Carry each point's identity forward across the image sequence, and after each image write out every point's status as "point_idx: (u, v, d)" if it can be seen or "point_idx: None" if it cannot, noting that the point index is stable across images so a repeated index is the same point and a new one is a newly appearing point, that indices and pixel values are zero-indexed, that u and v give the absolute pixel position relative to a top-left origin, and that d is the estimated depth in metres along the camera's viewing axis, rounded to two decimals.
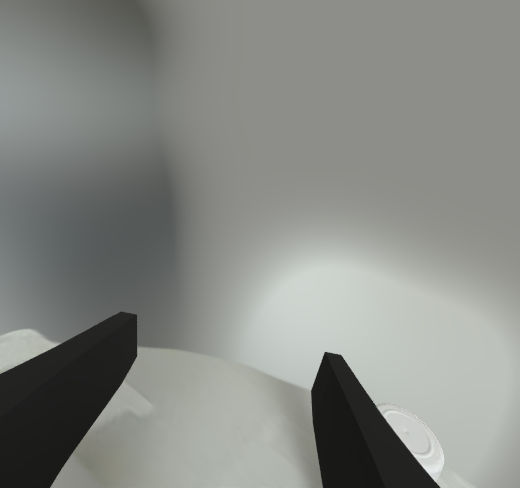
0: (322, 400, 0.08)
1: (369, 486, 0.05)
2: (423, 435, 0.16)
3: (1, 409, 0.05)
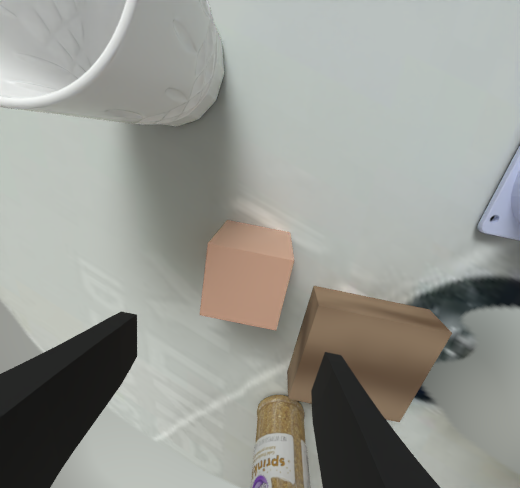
0: (322, 400, 0.08)
1: (369, 486, 0.05)
2: None
3: (1, 409, 0.05)
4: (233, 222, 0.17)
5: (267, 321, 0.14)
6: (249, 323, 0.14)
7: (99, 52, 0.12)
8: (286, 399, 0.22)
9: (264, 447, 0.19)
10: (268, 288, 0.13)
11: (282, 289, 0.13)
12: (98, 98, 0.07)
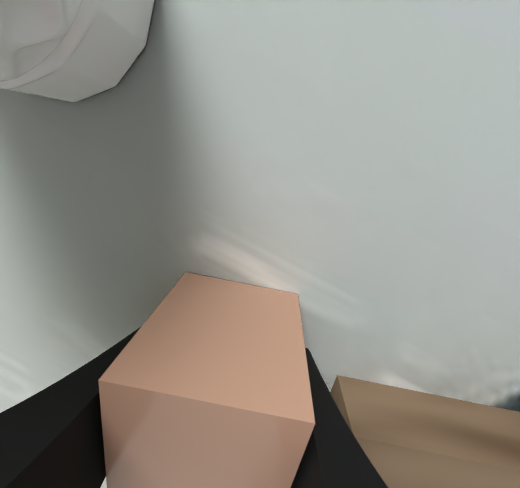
0: None
1: (312, 474, 0.05)
2: None
3: (62, 421, 0.05)
4: (194, 280, 0.09)
5: None
6: None
7: None
8: None
9: None
10: (251, 468, 0.06)
11: (285, 473, 0.06)
12: None
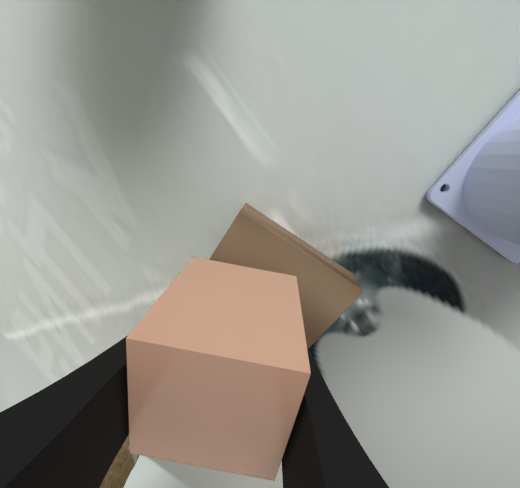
0: None
1: (312, 474, 0.05)
2: None
3: (61, 421, 0.05)
4: (202, 263, 0.10)
5: (257, 467, 0.07)
6: (223, 468, 0.07)
7: None
8: None
9: None
10: (256, 417, 0.07)
11: (286, 421, 0.07)
12: None
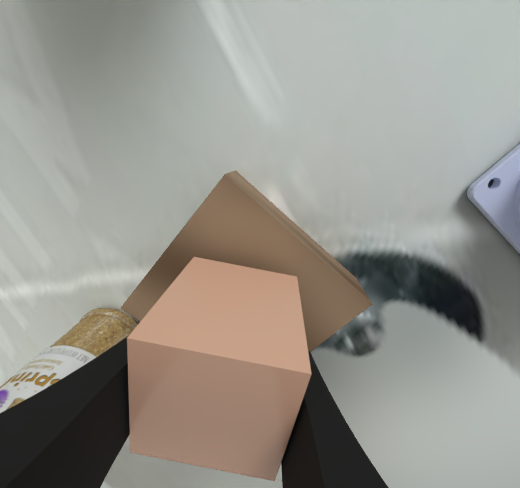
0: None
1: (312, 474, 0.05)
2: None
3: (62, 421, 0.05)
4: (203, 263, 0.10)
5: (257, 467, 0.07)
6: (224, 468, 0.08)
7: None
8: (126, 319, 0.15)
9: (46, 358, 0.12)
10: (257, 417, 0.07)
11: (286, 421, 0.07)
12: None
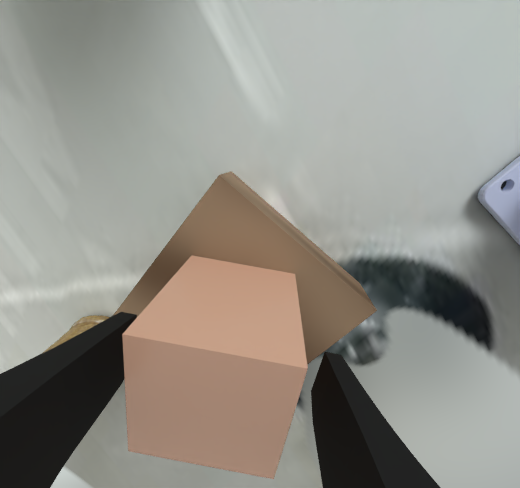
0: (322, 400, 0.08)
1: (369, 486, 0.05)
2: None
3: (1, 409, 0.05)
4: (200, 261, 0.10)
5: (256, 465, 0.07)
6: (222, 466, 0.07)
7: None
8: None
9: None
10: (254, 414, 0.07)
11: (283, 417, 0.06)
12: None
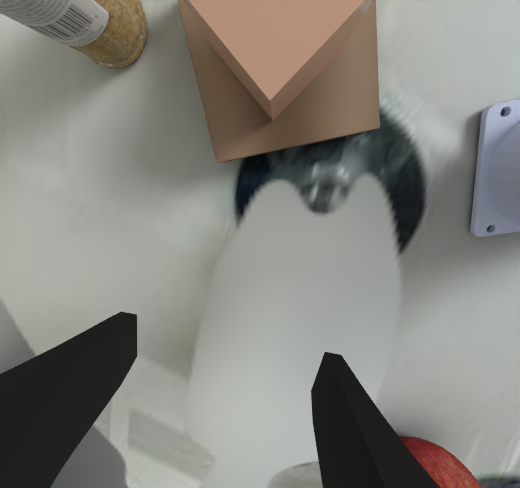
0: (322, 400, 0.08)
1: (369, 486, 0.05)
2: None
3: (1, 409, 0.05)
4: None
5: (268, 73, 0.08)
6: (239, 57, 0.08)
7: None
8: (141, 10, 0.13)
9: None
10: (313, 2, 0.07)
11: (331, 23, 0.07)
12: None
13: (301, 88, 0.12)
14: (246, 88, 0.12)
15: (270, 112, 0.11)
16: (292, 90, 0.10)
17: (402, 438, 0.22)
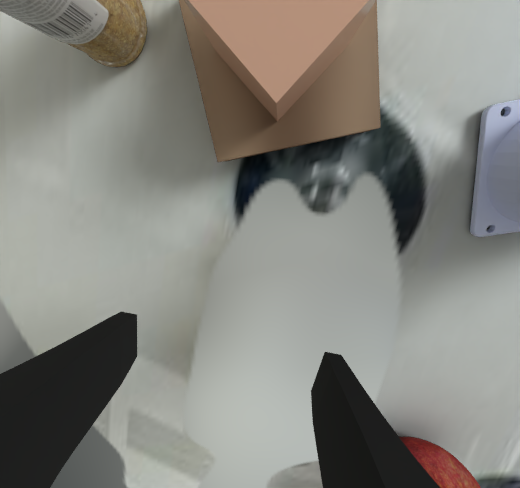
0: (322, 400, 0.08)
1: (369, 486, 0.05)
2: None
3: (1, 409, 0.05)
4: None
5: (274, 75, 0.08)
6: (245, 61, 0.08)
7: None
8: (141, 8, 0.13)
9: None
10: (318, 4, 0.07)
11: (336, 24, 0.07)
12: None
13: (305, 88, 0.12)
14: (250, 90, 0.12)
15: (275, 113, 0.11)
16: (297, 91, 0.10)
17: (401, 438, 0.22)
